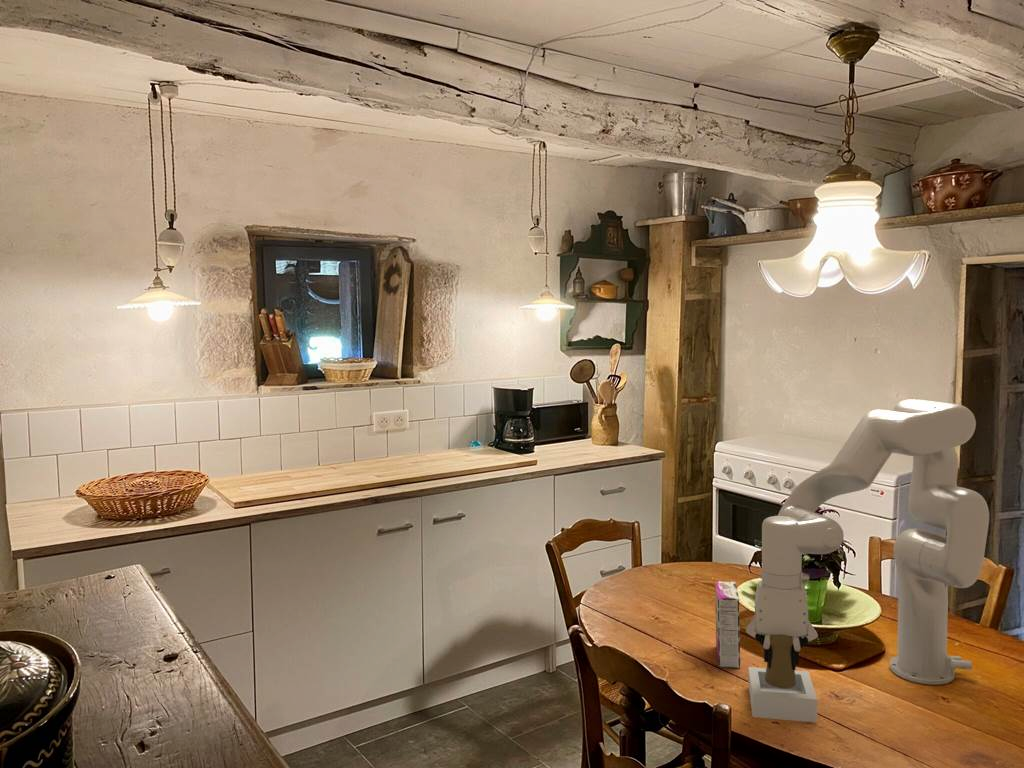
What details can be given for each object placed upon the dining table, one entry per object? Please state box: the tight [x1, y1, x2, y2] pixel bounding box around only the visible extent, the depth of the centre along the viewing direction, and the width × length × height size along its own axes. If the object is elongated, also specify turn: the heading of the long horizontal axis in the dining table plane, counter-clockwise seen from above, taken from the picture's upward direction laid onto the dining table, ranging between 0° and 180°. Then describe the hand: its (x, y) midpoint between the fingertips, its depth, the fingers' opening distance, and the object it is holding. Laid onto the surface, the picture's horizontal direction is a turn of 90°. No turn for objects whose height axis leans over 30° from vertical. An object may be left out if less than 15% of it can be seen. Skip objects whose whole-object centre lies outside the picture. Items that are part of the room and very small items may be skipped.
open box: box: [748, 666, 818, 723], centre depth 157 cm, size 12×12×5 cm
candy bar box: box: [714, 580, 741, 669], centre depth 178 cm, size 11×5×16 cm, turn 168°
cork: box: [765, 634, 796, 688], centre depth 156 cm, size 6×6×11 cm
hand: (781, 665), depth 156 cm, fingers closed on cork, 3 cm apart
